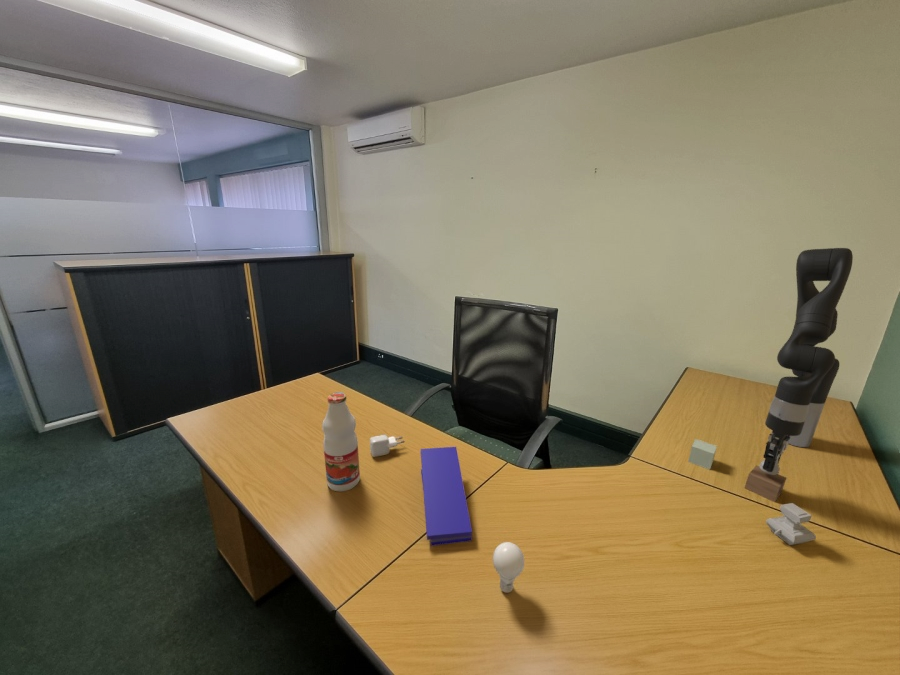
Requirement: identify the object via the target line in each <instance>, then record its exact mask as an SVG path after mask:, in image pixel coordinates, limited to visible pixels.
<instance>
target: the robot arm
mask: <svg viewBox="0 0 900 675" xmlns="http://www.w3.org/2000/svg"><path fill="white" fill-rule="evenodd" d="M853 257H854V256H853V252H852V250H851V249H850V248H848V247H834V248H833V247H832V248H831V247H830V248H813V249H812V248H811V249H805V250H803V251H802V252H799V255H798V256H797V259H796V264H795V265H796V266H795V271H796V273H795V274H796V277H795V278H796V291H797V299H796V300H797V302H796V312H795V321H794V325H793V328H792V332H791V334H790V336H789V338H788V339H787V340H786V342H785V343H784V344H783V345H782V347H781V348H780V349H779V351H778V353H777V356H776V360H777V362H778V364H779V366H780V367H781V368H784V369H788V370H791V372H792V374H793V375H794V376H783V377H781V378H780V379H779V381H778V383H777V387H776V391H775V393H774V397H773V399H772V400H771V403H770V406H769V409H768V413H767V416H766V418H765V423H764V424H765V426H766V427H767V428H768V429H770V430H771V433H770V434H769V435H768V438H767V441H766V443H765V450H764V452H763V458H764V460H765V461H764V465H763V469H764V470H767V471H769V472H772V471H773V469H774V466H775V463H776V461H777V460H778V464H779V463H780V460H781V457H782V455H783V454H784V451H785V450H786V449H787V448H788V445H791V446H795V447H799V448H810V446H811V443H812V441H813V438H814V435H815V432H816V430H817V427H818V424H819V421H820V418H821V416H822V413H823V410H824V406H825V404H826V401H827V398H828V395H829V394H830V390H831V388H832V386H833V383H834V381H835V379H836V376H837V374H838V372H839V370H840V361H839V359H838V358H836V356H835V354H834V352H833V351H832V349H829V348H826V347H823V346H822V347H821V346H816V345H818V344H820V343H824V342H826V341H827V340H828V339H829V338H830V337H831V336H832V335H833V334H835V332H836V329H837V324H838V315H839V314H838V310H837V306H838V303H839V301H840V299H841V297H842V294H843V293H844V291H845V287H846V284H847V282H848V280H849V277H850V274H851V271H852V267H853V260H854V259H853ZM814 282H829V283H828V284H827V285H826V286H825V287H824V288H823V289H822V290H820V291H819V289H818V288H817V287H816V285H815V283H814ZM778 450H780V451H778ZM782 452H783V453H782ZM769 454H771V455H769ZM779 454H780V457H779V459H777V458H778V456H779ZM772 455H773V456H772Z"/></svg>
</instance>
